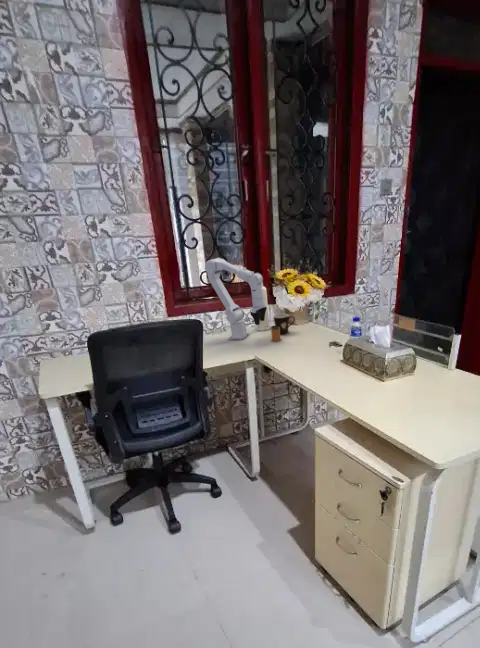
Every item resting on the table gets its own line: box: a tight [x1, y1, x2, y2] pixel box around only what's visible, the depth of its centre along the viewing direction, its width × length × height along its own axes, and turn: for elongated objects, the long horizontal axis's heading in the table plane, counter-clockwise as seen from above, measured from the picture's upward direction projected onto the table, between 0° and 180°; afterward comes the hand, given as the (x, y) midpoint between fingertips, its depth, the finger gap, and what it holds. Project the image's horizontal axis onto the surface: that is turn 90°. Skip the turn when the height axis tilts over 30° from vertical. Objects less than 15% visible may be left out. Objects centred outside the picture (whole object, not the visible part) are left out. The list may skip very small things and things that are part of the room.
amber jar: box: [270, 324, 282, 342], centre depth 226 cm, size 5×5×8 cm
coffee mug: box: [273, 313, 296, 336], centre depth 236 cm, size 12×9×10 cm
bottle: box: [255, 282, 271, 331], centre depth 243 cm, size 8×8×28 cm
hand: (259, 322), depth 227 cm, fingers open, 7 cm apart
